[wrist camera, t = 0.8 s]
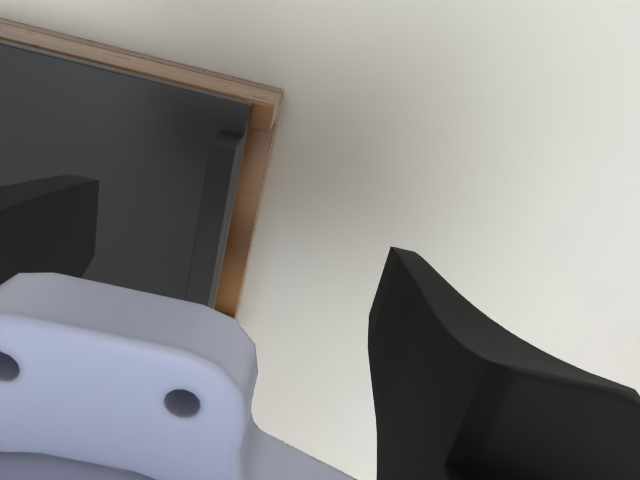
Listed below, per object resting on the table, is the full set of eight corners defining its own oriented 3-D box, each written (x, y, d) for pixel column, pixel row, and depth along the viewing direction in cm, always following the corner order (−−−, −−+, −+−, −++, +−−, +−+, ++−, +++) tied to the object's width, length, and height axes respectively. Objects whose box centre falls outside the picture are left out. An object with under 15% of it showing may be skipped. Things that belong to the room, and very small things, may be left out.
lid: (204, 364, 23) (190, 400, 21) (-52, 308, 22) (-91, 340, 20) (253, 101, 18) (241, 116, 16) (-69, 21, 18) (-122, 26, 16)
